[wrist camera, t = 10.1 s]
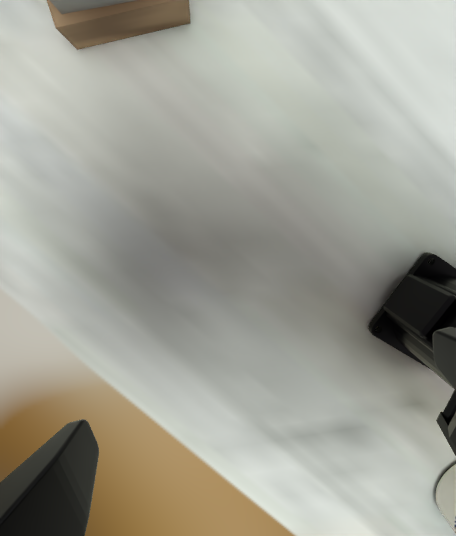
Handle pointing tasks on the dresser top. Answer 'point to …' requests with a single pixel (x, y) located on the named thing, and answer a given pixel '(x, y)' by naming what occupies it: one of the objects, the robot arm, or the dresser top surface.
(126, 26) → the walnut base block
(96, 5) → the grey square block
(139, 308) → the dresser top surface
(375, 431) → the dresser top surface
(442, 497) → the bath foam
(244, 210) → the dresser top surface
